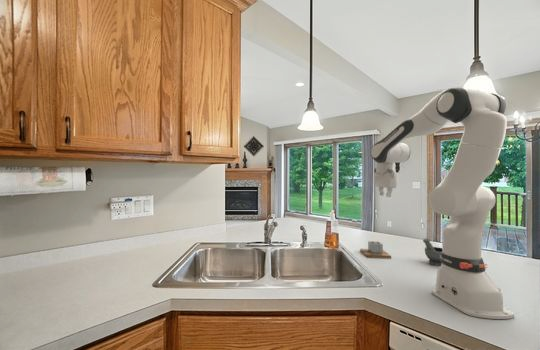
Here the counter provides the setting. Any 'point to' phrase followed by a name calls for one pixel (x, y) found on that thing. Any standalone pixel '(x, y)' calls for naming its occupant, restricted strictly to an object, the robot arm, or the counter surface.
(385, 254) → the post block
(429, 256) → the mortar and pestle
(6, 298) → the counter surface
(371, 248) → the square sleeve
